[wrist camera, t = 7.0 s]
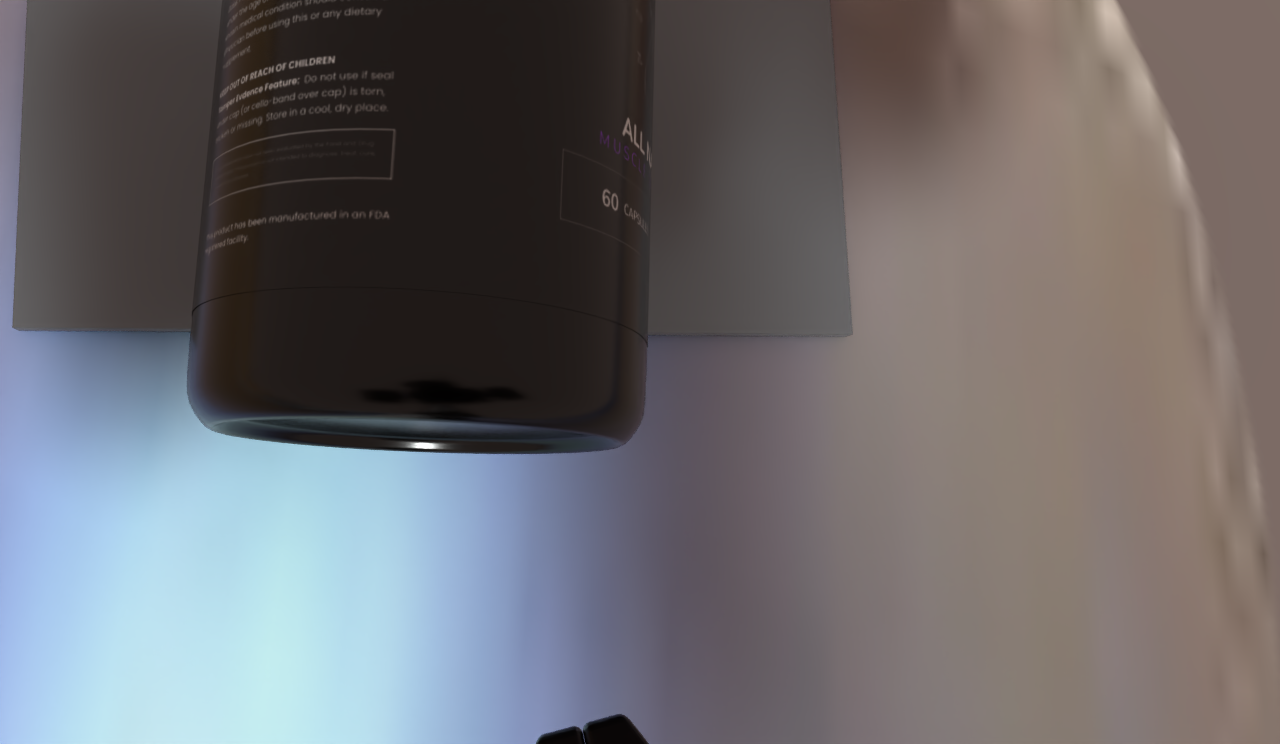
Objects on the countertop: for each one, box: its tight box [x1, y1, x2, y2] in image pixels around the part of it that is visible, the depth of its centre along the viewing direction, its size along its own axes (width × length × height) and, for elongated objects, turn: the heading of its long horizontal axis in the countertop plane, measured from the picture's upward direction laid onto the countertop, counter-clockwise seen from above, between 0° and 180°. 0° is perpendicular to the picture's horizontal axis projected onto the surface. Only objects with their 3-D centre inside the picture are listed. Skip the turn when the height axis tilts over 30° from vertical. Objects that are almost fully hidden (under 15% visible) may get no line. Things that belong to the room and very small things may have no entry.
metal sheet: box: [12, 0, 853, 336], centre depth 19 cm, size 11×16×1 cm
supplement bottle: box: [187, 0, 656, 454], centre depth 16 cm, size 7×7×12 cm
